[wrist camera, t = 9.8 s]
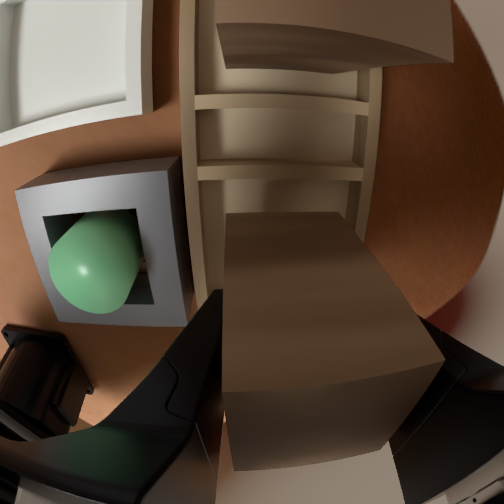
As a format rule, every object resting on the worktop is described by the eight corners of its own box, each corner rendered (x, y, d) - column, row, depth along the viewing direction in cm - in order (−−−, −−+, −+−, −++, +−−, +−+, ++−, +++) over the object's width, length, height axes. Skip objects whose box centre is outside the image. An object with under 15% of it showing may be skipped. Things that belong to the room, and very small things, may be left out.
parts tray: (10, 142, 10) (-9, 149, 9) (12, 2, 6) (-6, -1, 5) (153, 111, 11) (142, 114, 9) (157, -49, 7) (149, -64, 5)
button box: (75, 292, 15) (58, 321, 13) (43, 173, 11) (14, 190, 9) (192, 293, 15) (187, 326, 13) (179, 156, 12) (167, 170, 10)
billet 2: (225, 213, 10) (222, 391, 4) (337, 211, 10) (445, 359, 4) (229, 304, 12) (233, 470, 6) (324, 300, 12) (379, 449, 6)
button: (88, 274, 13) (64, 311, 11) (70, 207, 12) (37, 237, 9) (153, 273, 14) (138, 315, 11) (141, 201, 12) (117, 232, 9)
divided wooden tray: (203, 300, 15) (200, 330, 14) (191, -46, 7) (185, -68, 5) (333, 295, 16) (345, 322, 14) (355, -34, 8) (375, -51, 6)
